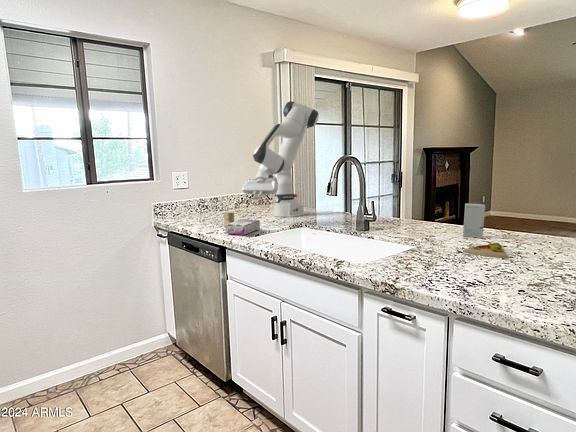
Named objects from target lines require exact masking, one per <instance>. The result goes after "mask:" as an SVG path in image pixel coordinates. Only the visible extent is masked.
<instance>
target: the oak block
mask: <svg viewBox="0 0 576 432" xmlns="http://www.w3.org/2000/svg"><path fill="white" fill-rule="evenodd" d="M223 222H224V223H223V225H224V228H225V224H228V223H232V222H235V212H233V211H232V212H231V211H227V212H226V211H225V212H223Z"/></svg>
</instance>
